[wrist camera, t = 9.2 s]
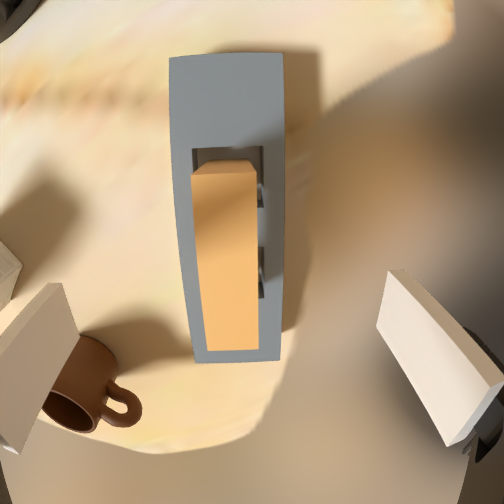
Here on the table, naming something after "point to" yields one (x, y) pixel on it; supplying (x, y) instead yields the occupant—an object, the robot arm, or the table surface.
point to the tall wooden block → (227, 252)
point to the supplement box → (7, 274)
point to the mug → (89, 390)
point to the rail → (231, 147)
